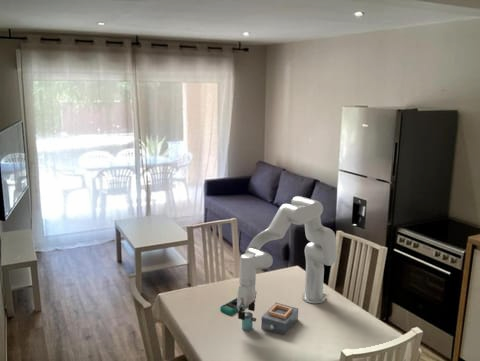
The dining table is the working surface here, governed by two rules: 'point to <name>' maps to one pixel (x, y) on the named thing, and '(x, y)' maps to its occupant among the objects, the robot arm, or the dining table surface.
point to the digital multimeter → (230, 307)
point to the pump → (248, 321)
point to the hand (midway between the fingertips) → (246, 314)
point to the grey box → (279, 318)
